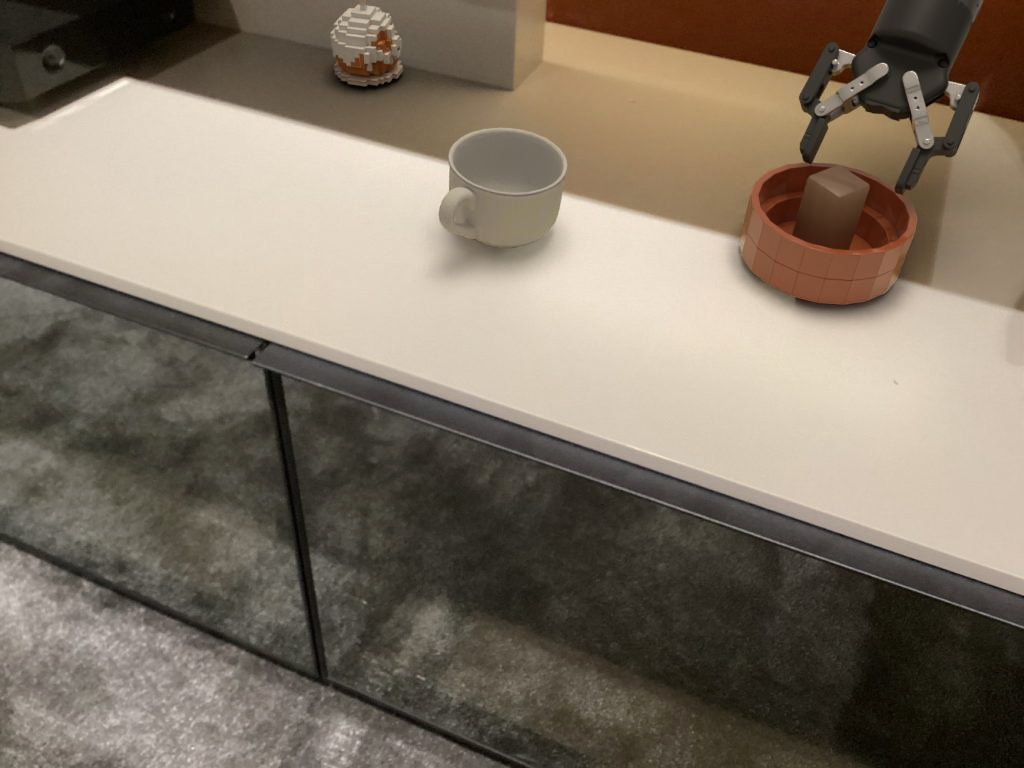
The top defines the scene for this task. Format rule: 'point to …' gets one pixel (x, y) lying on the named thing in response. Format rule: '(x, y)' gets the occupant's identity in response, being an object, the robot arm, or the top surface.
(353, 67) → the decorative ornament
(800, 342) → the top surface
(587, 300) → the top surface
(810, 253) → the bowl
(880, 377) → the top surface
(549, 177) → the teacup
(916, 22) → the robot arm
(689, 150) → the top surface
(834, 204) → the wooden block
